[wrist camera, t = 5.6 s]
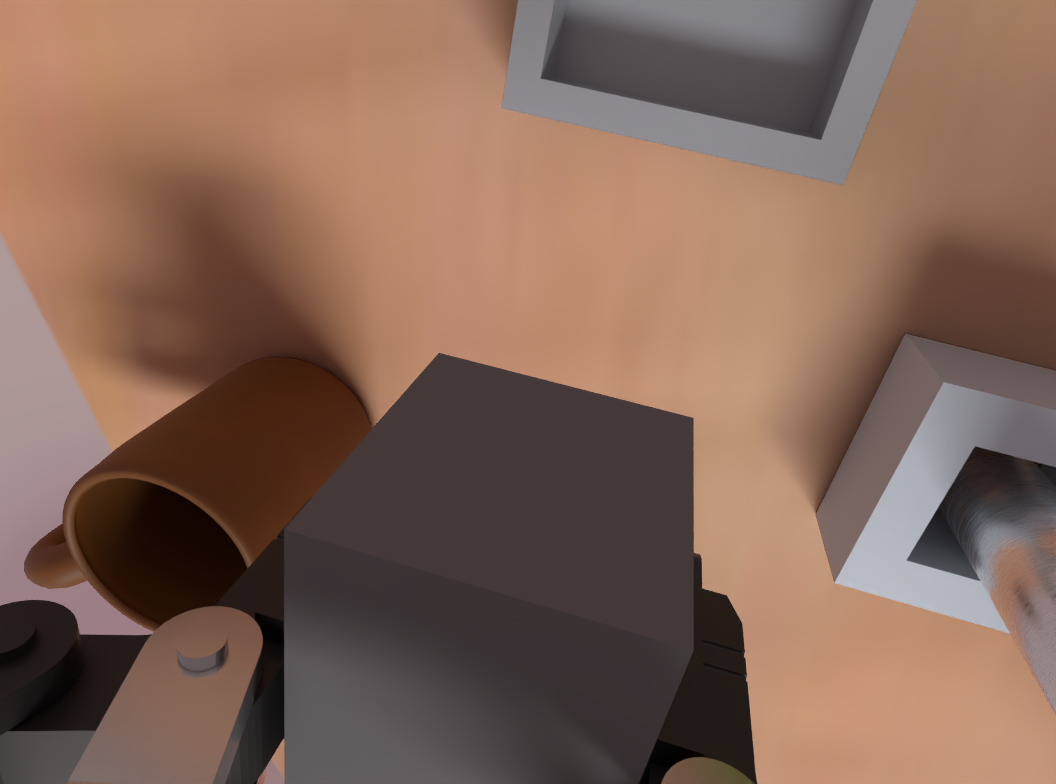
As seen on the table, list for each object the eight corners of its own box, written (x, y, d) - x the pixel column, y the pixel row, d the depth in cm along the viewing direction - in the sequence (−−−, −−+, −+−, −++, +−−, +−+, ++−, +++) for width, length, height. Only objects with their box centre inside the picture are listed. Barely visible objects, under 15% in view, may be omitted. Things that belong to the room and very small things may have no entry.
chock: (696, 418, 10) (699, 651, 6) (606, 686, 13) (567, 965, 9) (435, 352, 10) (278, 527, 6) (404, 624, 13) (281, 861, 9)
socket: (1151, 394, 22) (1238, 456, 19) (1023, 572, 26) (1076, 652, 22) (905, 333, 23) (943, 382, 19) (815, 514, 27) (834, 582, 23)
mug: (207, 522, 34) (55, 666, 26) (127, 393, 32) (-70, 508, 24) (407, 482, 31) (302, 638, 22) (335, 331, 28) (185, 443, 20)
